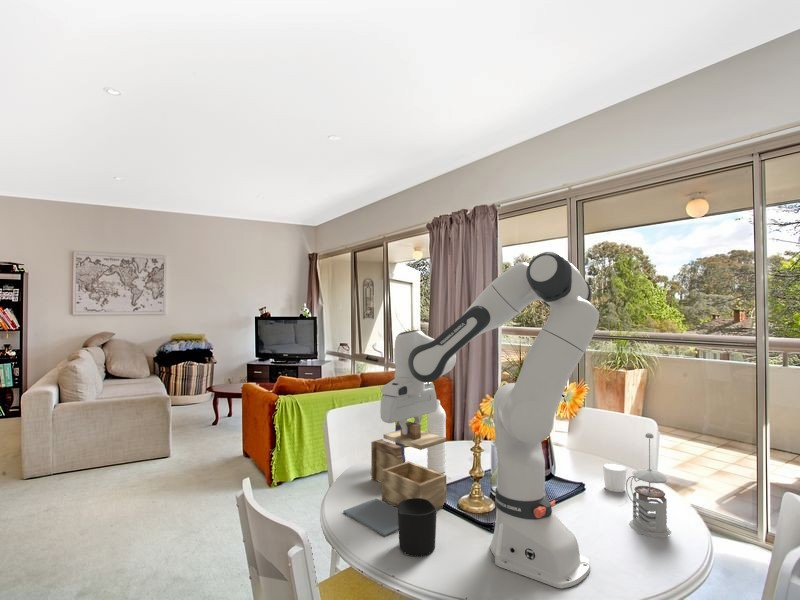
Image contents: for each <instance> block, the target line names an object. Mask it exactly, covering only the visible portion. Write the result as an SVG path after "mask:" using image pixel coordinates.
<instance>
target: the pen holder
mask: <svg viewBox="0 0 800 600" xmlns="http://www.w3.org/2000/svg"><path fill="white" fill-rule="evenodd" d="M397 509H398V528H399V531H398V544H399V549H400V550H401V552H403V554H405V555H407V556H409V557H417V558H418V557H419V558H420V557H426V556H429V555H430V554H431V553H433V551H435V547H436V538H437V537H436V535H437V512H438V510H437V508H435V507H434V505H433V504H432V503H431V502H430V501H428V500H426V499H423V498H410V499H406V500H403V501H401V502H400V503H399V505H398V507H397Z"/></svg>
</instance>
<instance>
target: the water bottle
mask: <svg viewBox="0 0 800 600" xmlns="http://www.w3.org/2000/svg"><path fill="white" fill-rule="evenodd" d="M426 415H427V418H426V419H427V423H426V424H427V427H426V428H427V433H431V434H434V435H438V436H442V437H446V438H447V436H446V435H447V434H446V433H447V431H446V425H447V424H446V422H447V421H446V419H447V415H446V411H445V409H444V408H443V407H442V404H441V401H440V399H437V409H436V411H435V412H432V413H429V414H426ZM446 442H447V441H446ZM446 442H444V443H441V444H438V445H434V446H431V447H428V448H426V449H427V454H426V455H427V459H426V462H427V464H426V466H427V467H426V468H428V469H431V470H433V471H436V472H439V473H441V474H444V473H445V472H446V470H447V463H446V462H447V461H446V460H447V459H446V457H447V455H446V454H447V453H446V451H447V449H446V447H447V445H446V444H447V443H446Z"/></svg>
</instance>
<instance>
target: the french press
mask: <svg viewBox="0 0 800 600" xmlns="http://www.w3.org/2000/svg"><path fill="white" fill-rule="evenodd" d="M645 438H647V439H648V440H649V441H648V454H649V455H648V458H649V459H648V468H639V469H636V470H634V471H633V472H632V475H631V476H629V477H628V478H627V479H626V480H625V490H626V494H627V496H628V498H629V500H630V501H631V502H632V520H630V521H629V522H628V525H629V528H631V529H632V531H635V532H636V533H638V534H640V535H644V536H647V537H651V538H658V539H659V538H660V537H662V538H668V537H669V536H668V535H670V534H671V535H672V531H671V530H669V529H670V528H669V526H668V525H667V521H668V520H667V519H668V517H667V514H668V513H667V509H668V506H667V505H668V503H667V502H668V500H667V498H666V493H665V492H664V490H662V489H659V488H657V487H654V486H651V484H664V483H666V482H667V481H668V477H667V476H666V475H664V474H663V473H661V472H660V471H658V470H656V469H651V439H654V435H653V433H651V432H647V433H645ZM630 479H631V480H630ZM629 480H630V490H631V494H632V498H631V496H630V494H629V492H628V491H629V490H628V481H629ZM633 480H634V482H639V481H642V482H645V483H648V485H637V486H636V487H634V491H635V492H633V488H632V485H633V484H632V481H633ZM637 494H638V497H637ZM658 499H659V500H658ZM649 512H651V513H649ZM671 535H670V536H671ZM667 536H668V537H667Z"/></svg>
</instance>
